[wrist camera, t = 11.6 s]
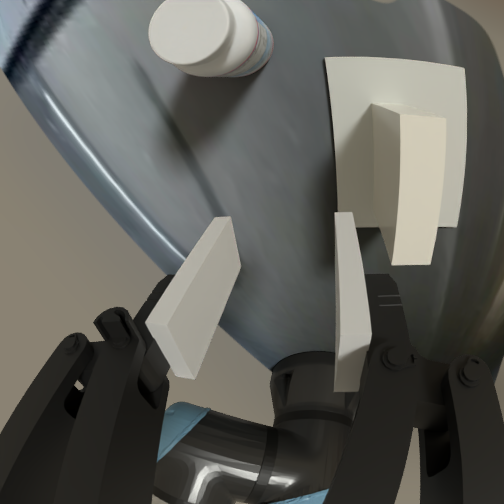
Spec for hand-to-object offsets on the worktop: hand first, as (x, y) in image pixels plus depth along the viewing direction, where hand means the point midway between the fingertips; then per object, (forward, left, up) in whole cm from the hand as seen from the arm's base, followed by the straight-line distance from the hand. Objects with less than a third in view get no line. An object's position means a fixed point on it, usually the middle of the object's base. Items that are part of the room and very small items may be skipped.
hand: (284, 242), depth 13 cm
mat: (+1, -10, -15) cm, 18 cm away
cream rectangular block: (0, -8, -14) cm, 16 cm away
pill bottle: (+11, +4, -15) cm, 19 cm away
